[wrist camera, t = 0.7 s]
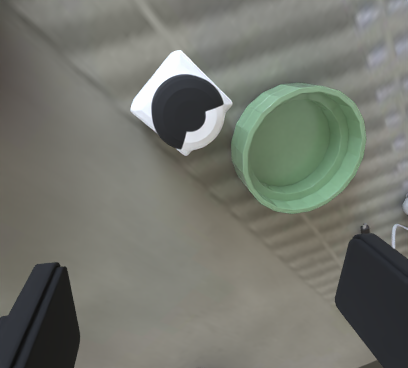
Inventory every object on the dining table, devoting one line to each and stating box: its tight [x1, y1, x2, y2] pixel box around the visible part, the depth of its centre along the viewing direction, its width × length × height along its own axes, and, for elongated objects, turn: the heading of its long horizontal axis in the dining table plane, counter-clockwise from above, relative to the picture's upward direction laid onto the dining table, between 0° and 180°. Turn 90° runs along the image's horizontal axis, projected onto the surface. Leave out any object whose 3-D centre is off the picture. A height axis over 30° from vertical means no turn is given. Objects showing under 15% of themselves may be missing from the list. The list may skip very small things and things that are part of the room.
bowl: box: [231, 83, 366, 214], centre depth 36 cm, size 15×15×6 cm
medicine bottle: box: [131, 51, 232, 156], centre depth 28 cm, size 7×7×12 cm
